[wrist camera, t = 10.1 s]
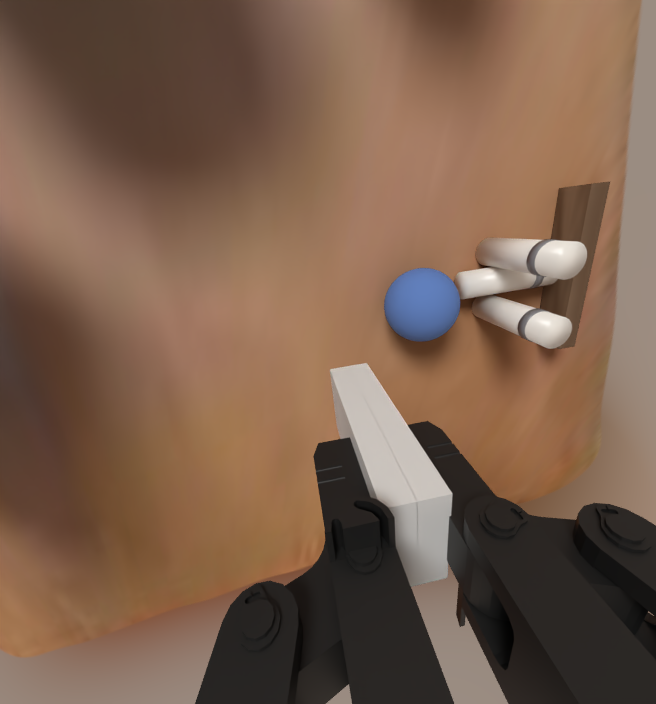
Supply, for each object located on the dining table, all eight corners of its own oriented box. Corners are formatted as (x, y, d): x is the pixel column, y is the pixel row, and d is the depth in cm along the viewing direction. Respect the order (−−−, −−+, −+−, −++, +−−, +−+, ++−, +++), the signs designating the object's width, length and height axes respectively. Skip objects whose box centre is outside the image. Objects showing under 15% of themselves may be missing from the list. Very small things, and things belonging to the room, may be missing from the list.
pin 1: (473, 267, 28) (549, 282, 20) (476, 238, 27) (556, 243, 19) (499, 263, 28) (583, 277, 21) (502, 235, 27) (591, 238, 20)
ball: (468, 337, 26) (409, 320, 31) (479, 266, 24) (414, 258, 28) (429, 361, 23) (369, 339, 27) (437, 282, 20) (369, 271, 24)
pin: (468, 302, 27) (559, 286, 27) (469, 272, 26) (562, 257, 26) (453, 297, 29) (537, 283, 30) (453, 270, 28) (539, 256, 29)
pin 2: (470, 319, 30) (537, 352, 22) (472, 294, 29) (543, 319, 21) (494, 315, 30) (569, 346, 22) (496, 290, 29) (575, 313, 22)
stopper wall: (535, 338, 32) (559, 349, 29) (559, 188, 27) (591, 183, 24) (549, 336, 32) (574, 346, 29) (576, 186, 27) (610, 181, 24)
